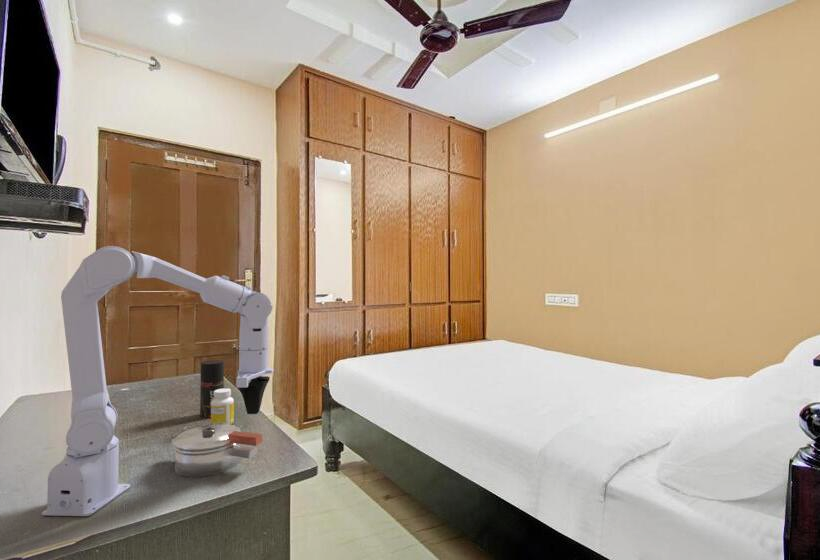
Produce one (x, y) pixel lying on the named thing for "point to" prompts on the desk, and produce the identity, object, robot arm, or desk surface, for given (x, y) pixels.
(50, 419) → the desk surface
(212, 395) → the deodorant
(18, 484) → the desk surface
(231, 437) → the lid
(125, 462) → the desk surface
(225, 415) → the supplement bottle
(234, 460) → the pot
